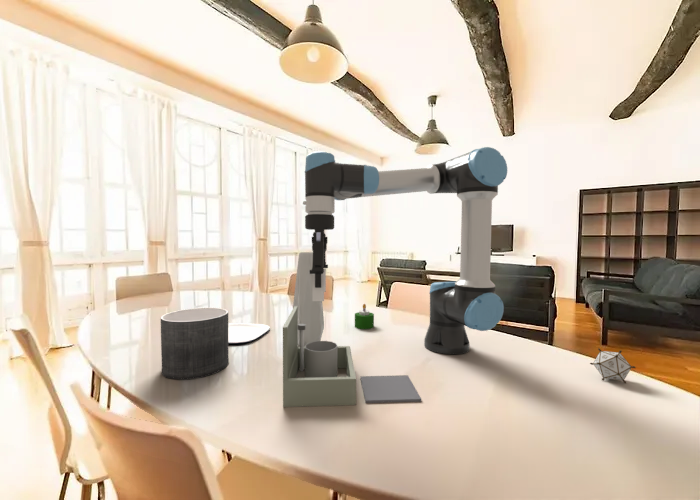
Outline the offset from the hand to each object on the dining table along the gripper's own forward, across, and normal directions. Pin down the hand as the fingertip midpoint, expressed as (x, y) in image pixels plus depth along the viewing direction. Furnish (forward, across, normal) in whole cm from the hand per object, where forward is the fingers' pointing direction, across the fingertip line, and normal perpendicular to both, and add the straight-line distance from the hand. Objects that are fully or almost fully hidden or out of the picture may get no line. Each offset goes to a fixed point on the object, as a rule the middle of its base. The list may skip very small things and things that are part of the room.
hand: (319, 296), depth 83 cm
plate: (+24, -44, -36) cm, 61 cm away
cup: (+23, +1, 0) cm, 23 cm away
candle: (+23, -54, +17) cm, 61 cm away
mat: (+23, +4, +18) cm, 29 cm away
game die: (+23, +2, +78) cm, 82 cm away
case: (+23, +1, 0) cm, 23 cm away
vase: (+23, -31, -5) cm, 39 cm away
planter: (+23, -12, -37) cm, 45 cm away
